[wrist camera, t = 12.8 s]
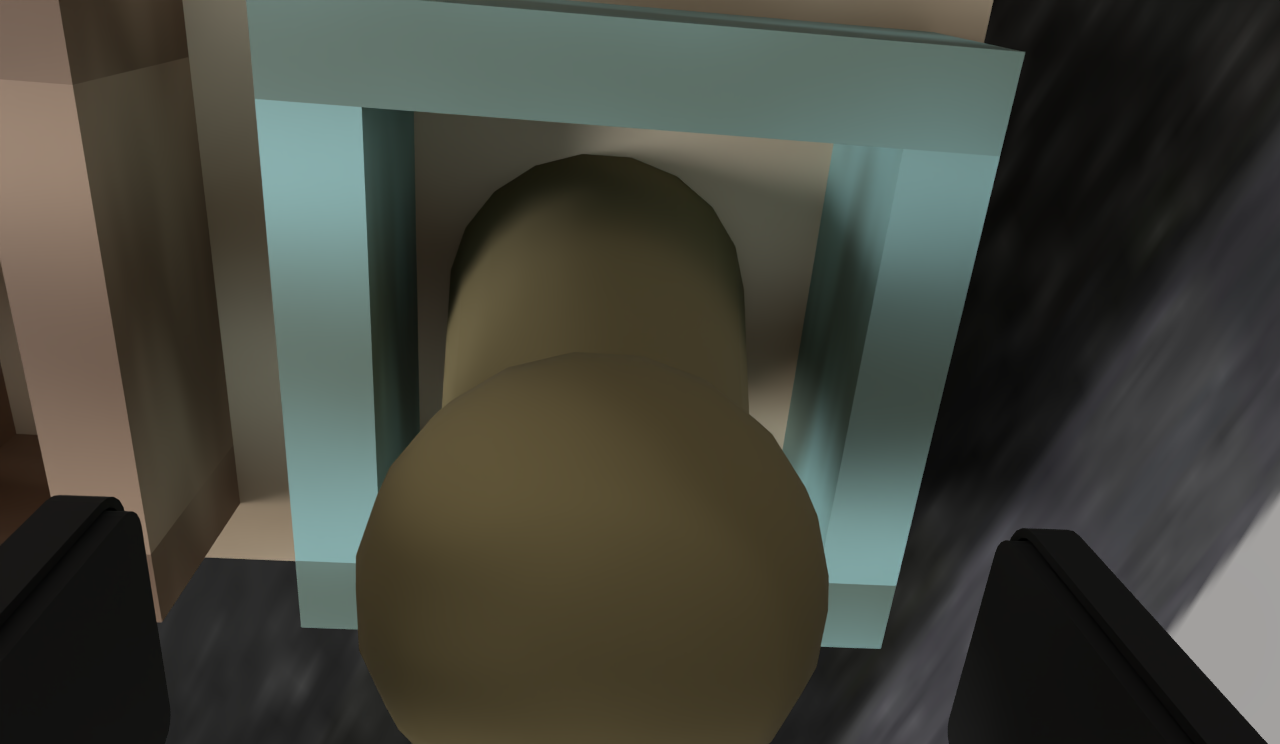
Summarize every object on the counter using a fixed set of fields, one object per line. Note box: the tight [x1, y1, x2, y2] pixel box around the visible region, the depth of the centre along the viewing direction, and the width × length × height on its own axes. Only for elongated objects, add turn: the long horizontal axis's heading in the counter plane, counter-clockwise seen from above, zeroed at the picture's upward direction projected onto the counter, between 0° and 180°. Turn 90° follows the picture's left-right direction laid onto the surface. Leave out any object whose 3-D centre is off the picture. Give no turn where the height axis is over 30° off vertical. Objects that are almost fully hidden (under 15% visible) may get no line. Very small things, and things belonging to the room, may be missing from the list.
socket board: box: [0, 0, 1025, 649], centre depth 17 cm, size 14×22×5 cm, turn 85°
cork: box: [356, 154, 829, 744], centre depth 14 cm, size 6×6×11 cm
